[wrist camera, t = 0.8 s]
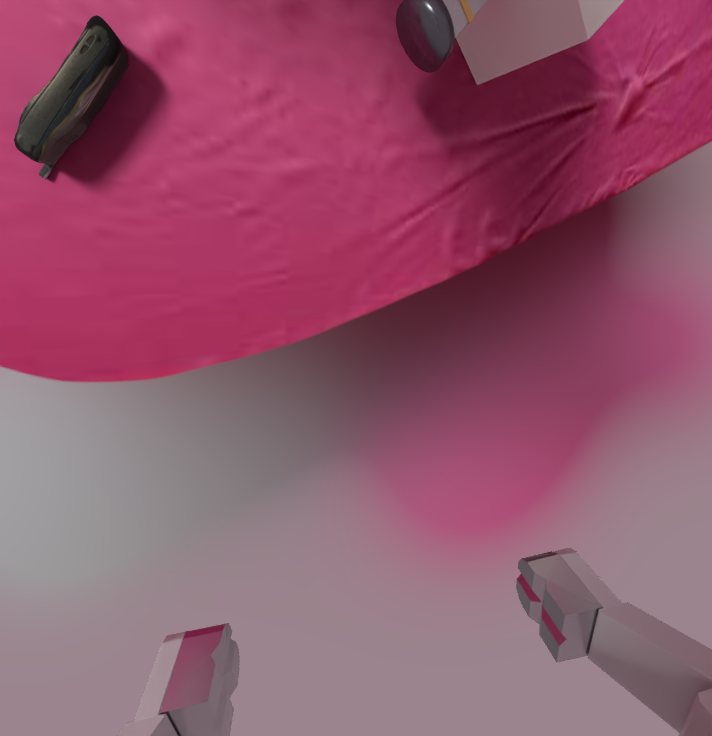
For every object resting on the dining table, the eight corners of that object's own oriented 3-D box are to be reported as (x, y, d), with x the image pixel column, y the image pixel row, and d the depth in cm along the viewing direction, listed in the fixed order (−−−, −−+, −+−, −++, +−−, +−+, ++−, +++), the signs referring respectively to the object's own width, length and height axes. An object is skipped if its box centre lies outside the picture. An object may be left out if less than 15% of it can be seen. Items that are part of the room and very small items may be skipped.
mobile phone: (87, 1, 27) (-9, 155, 29) (126, 39, 29) (33, 182, 31) (104, 28, 31) (19, 160, 33) (137, 60, 33) (54, 184, 35)
